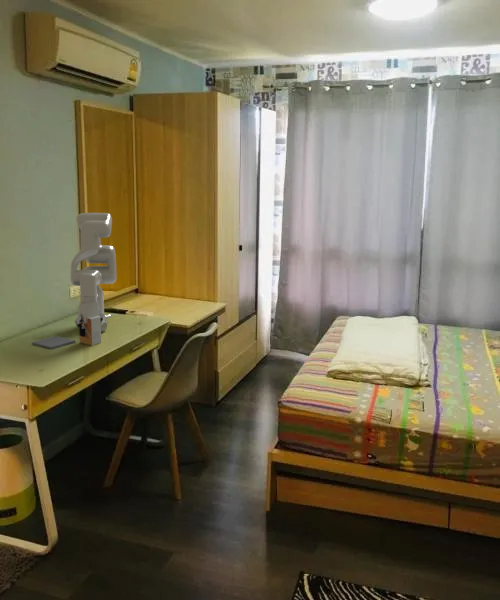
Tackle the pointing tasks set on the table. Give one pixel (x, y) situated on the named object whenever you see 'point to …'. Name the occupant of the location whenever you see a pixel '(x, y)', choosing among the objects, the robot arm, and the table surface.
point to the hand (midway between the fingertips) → (90, 334)
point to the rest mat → (54, 342)
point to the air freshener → (103, 325)
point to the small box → (92, 331)
